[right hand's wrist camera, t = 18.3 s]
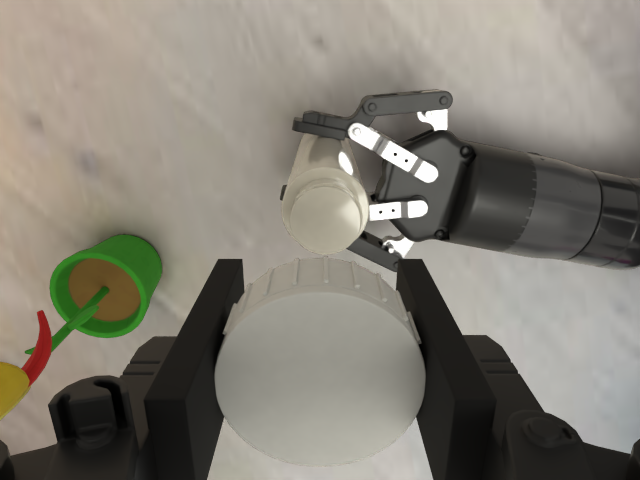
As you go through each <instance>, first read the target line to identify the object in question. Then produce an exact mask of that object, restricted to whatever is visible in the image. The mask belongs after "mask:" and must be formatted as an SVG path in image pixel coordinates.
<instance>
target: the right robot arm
mask: <svg viewBox="0 0 640 480" xmlns="http://www.w3.org/2000/svg"><path fill="white" fill-rule="evenodd" d="M396 290H398V292H399V293H400V296H401V299H402V302H403V304H404V306H405V309H406V311H407V312H409V311H410V313H411V315H412V318H413V321H414V324H415V326H416V329H417V332H418V334H419V337H420V340H421V344H418V345H419V347H420V350H421V353H422V356H423V359H424V364H425V369H426V382H425V392H424V398H423V401H422V405H421V407H420V409H419V411H418V414H417V416H416V418H417V422H418V425H419V429H420V432H421V436H422V440H423V443H424V447H425V451H426V454H427V458H428V462H429V465H430V469H431V472H432V476H433V480H640V439H639V440H638V441H637V442H636V443H634V445H633V448H632V451H631V454H628V453H623V452H619V451H615V450H611V449H606V448H602V447H598V446H594V445H591V444H588V443H585V442H583V441H582V440H581V438H580V436H579V435H578V433H577V432H576V430H575V429H573V428H572V427H571V426H570V425H569V424H567V423H566V422H565V421H563V420H562V419H560V418H558V417H556V416H554V415H552V414H549V413H545V412H544V410H543V409H542V407H541V406H540V404H539V403H538V401H537V400H536V398H535V397H534V395H533V394H532V392H531V391H530V389H529V387H528V386H527V384H526V383H525V381H524V380H523V378H522V377H521V375H520V374H518V371H517V369H516V368H515V366H514V365H513V363H511V360H510V358H509V357H508V355H507V354H506V352H505V351H504V349H503V348H502V346H500V345H499V344H498V343H496V342H495V341H494V340H492V339H491V338H489V337H488V336H487V335H462V333H461V332H460V330H459V328H458V326H457V324H456V322H455V320H454V318H453V317H452V315H451V313H450V311H449V309H448V307H447V305H446V303H445V301H444V300H443V298H442V296H441V294H440V292H439V290H438V288H437V286H436V285H435V283H434V281H433V279H432V277H431V275H430V273H429V271H428V270H427V268H426V266H425V264H424V262H423V260H422V259H398V267H397V283H396ZM243 294H244V278H243V263H242V259H218V261H217V263H216V264H215V266H214V268H213V270H212V272H211V274H210V276H209V278H208V279H207V281H206V283H205V285H204V287H203V289H202V291H201V293H200V295H199V296H198V298H197V300H196V302H195V304H194V306H193V308H192V310H191V311H190V313H189V315H188V317H187V319H186V321H185V323H184V325H183V326H182V328H181V330H180V332H179V334H178V336H177V337H153V338H152V339H150V340H149V341H147V342H146V343H145V344H143V345H142V346H141V347H139V348H138V350H137V351H136V353H135V355H134V356H133V358H132V359H131V361H130V364H128V365H127V367H126V368H125V370H124V371H123V375H121V376H120V378H118V377H114V376H94V377H90V378H86V379H82V380H79V381H77V382H75V383H73V384H71V385H69V386H67V387H65V388H64V389H63V390H61V391H60V392H59V393H57V394H56V395H55V396H54V397H53V399H52V400H51V401H50V403H49V404H48V407H49V411H50V415H51V418H52V422H53V426H54V430H55V434H56V438H57V441H58V442H57V444H55V445H52V446H49V447H46V448H42V449H38V450H33V451H29V452H25V453H21V454H16V455H12V456H10V453H9V450H8V447H7V445H6V444H4V443H3V442H2V441H1V440H0V480H207V477H208V473H209V470H210V466H211V463H212V459H213V455H214V452H215V448H216V444H217V441H218V437H219V433H220V430H221V426H222V423H223V419H224V415H223V413H222V411H221V409H220V406H219V404H218V401H217V397H216V389H215V378H214V372H215V365H216V361H217V356H218V353H219V350H220V347H221V345H222V342H223V339H224V336H225V335H224V334H223V331H224V328H225V326H226V323H227V320H228V317H229V315H230V312H231V309H232V306H233V304H234V303H236V304H237V303H238V302H239V300H240V298H241V297H242V295H243Z"/></svg>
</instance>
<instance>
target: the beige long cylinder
mask: <svg viewBox="0 0 640 480" xmlns="http://www.w3.org/2000/svg"><path fill="white" fill-rule="evenodd" d="M281 212H282V219H283V222H284V225H285V227H286V229H287V231H288V232H289V234H290V235H291V236H292V237H293V238H294V239H295V240H296V241H297V242H298V243H299V244H300V245H301V246H302V247H304V248H305V249H307V250H309V251H311V252H313V253H317V254H323V255H328V254H334V253H338V252H340V251H342V250H344V249H346V248H347V247H349V246H350V245H351V244H352V243H353V242H354V241H355V240H356V239H357V238H358V237H359V236H360V235H361V233H362V232H363V230H364V229H365V226H366V224H367V221H368V218H369V201H368V197H367V194H366V191H365V188H364V185H363V182H362V179H361V176H360V173H359V170H358V167H357V164H356V161H355V158H354V155H353V152H352V149H351V146H350V143H349V140H348V138H345V140H344V141H342V140H337V139H333V138H327V137H322V136H317V135H312V134H307V133H305V134H304V135H303V137H302V139H301V141H300V144H299V147H298V151H297V154H296V157H295V160H294V164H293V167H292V170H291V173H290V177H289V180H288V183H287V187H286V190H285V193H284V196H283V200H282V207H281Z"/></svg>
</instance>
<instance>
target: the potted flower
mask: <svg viewBox="0 0 640 480" xmlns="http://www.w3.org/2000/svg"><path fill="white" fill-rule="evenodd" d="M161 274H162V264H161V260H160V258H159V256H158V254H157V252H156V251H155V249H154V248H153V247H152V246H151V245H150V244H149V243H147V242H146V241H144V240H143V239H140V238H138V237H135V236H131V235H117V236H113V237H111V238H109V239H107V240H105V241H103V242H101V243H99V244H98V245H96V246H94V247H92V248H90V249H86V250H83V251H79V252H77V253H76V254H74V255H72V256H70V257H68V258H67V259H65V260H63V261H62V262H61V263H60V264H59V265H58V266H57V267H56V269H55V270H54V272H53V274H52V277H51V280H50V295H51V299H52V302H53V305H54V307H55V308H56V310H57V312H58V313H59V314H60V316H61V317H62V318H63V319H64V320H65V321H66V322H67V323H66V324H65V325H64V326H63V327H62V328H61V329H60V330H59V331H58V332H57V333H56V334H55V335H54V336H53V337H51V331H50V328H49V325H48V321H47V319H46V316H45V314H44V312H43V310H41V311H38V312H37V315H38V320H39V325H40V332H39V337H38V341H37V344H36V347H34V348H32V349H29V350H26V351H25V353H26V354H31V357H30V358H29V359H28V361H27V362H26V364H25V365H24V366H23V367H22V368H21V369H20V368H19V367H17V366H14V365H12V364H9V363H4V362H0V420H1V419H2V418H3V417H4V416H5V415H6V414H7V413H9V412H10V411H11V410H12V409H13V408H14V407H15V406H16V405H17V404H18V403H19V402H20V400H21V399H22V398H23V397H24V396H25V395H26V394H27V392H28V391H29V389H30V388H31V384H32V383H33V382H34V381H35V380H36V379H37V378H38V376H39V375H40V373H41V372H42V371H43V369H44V368H45V366H46V364H47V362H48V359H49V357H50V355H51V352H52V351H53V350H54V349H55V348H56V347H57V346H58V345H59V344H60V343H61V342H62V341H63V340H64V339H65V338H66V337H67V336H68V334H69V333H70V332H71V331H72V330H74V329H77V330H78V331H80V332H83V333H85V334H87V335H91V336H95V337H101V338H113V337H118V336H122V335H125V334H127V333H129V332H131V331H132V330H134V329H135V328H136V327H137V326H138V325H139V324H140V323H141V321H142V320H143V318H144V316H145V313H146V311H147V309H148V307H149V303H150V298H151V296H152V294H153V292H154V290H155V288H156V286H157V284H158V282H159V280H160V278H161Z"/></svg>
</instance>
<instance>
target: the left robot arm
mask: <svg viewBox="0 0 640 480" xmlns="http://www.w3.org/2000/svg"><path fill="white" fill-rule="evenodd" d="M452 102H453V98H452V95H451V94H450V93H449V92H447V91H442V90H437V89H435V90H424V91H413V92H402V93H391V94H380V95H369V96H365V97H364V98H363V99H362V100H361V103H360V105H359V107H358V108H357V110H356V112H355V113H354V114H353V115H352V116H350V117H341V116H336V115H331V114H325V113H321V112H316V111H307V112H304V114H303V118H297V117H295V118H294V121H293V127H292V130H294V131H298V132H302V133H307V134H312V135H317V136H322V137H327V138H333V139H337V140H342V141H344V140H345V138H350V139H352V140H354V141H356V142H358V143H359V144H361V145H363V146H365V147H366V148H368V149H370V150H372V151H373V152H375V153H376V154H378V155H379V156H381V157H383V162H382V176H381V178H380V180H379V182H378V184H377V187H376V191H375V192H366V194H367V197H368V201H369V218H368V221H375V220H384V219H389V220H390V221H391V222H392V224H393V225H394V226H395V227H396V228H397V229H398V230H399V231H400V232H401V233H402V234H401V235H400V236H398V237H392V236H385V237H384V238H383V239H380V238H378V237H376V236H374V235H372V234H370V233H367V232H365V231H363V232H362V233H361V235H360V236H359V237H358V238H357V239H356V240H355V241H354V242H353V243H352V244H351V245H350V246H349V247H347V248H346V249H348V250H350V251H352V252H354V253H356V254H358V255H360V256H362V257H364V258H366V259H368V260H371V261H373V262H375V263H377V264H379V265H381V266H383V267H385V268H387V269H389V270H391V271H393V272H397V267H398V259H404V258H405V256H406V255H407V253H408V252H409V250H410V248H411V247H412V245H413V244H414V242H421V241H424V240H429V239H436V240H441V241H445V242H450V243H456V244H461V245H467V246H472V247H477V248H482V249H488V250H493V251H498V252H504V253H509V254H514V255H520V256H525V257H531V258H549V259H558V260H564V261H569V262H575V263H580V264H585V265H591V266H596V267H601V268H607V269H613V270H629V269H634V268H637V267H640V178H629V177H624V176H620V175H615V174H610V173H605V172H600V171H595V170H590V169H585V168H581V167H578V166H575V165H572V164H570V163H567V162H564V161H561V160H557V159H553V158H548V157H544V156H541V155H539V154H537V153H524V152H519V151H514V150H510V149H505V148H500V147H495V146H490V145H485V144H480V143H475V142H470V141H465V140H461V139H458V138H457V137H456V136H455V135H454V134H452V133H451V132H450V131H448V130H447V109H448V108H449V107H450V106H451V104H452ZM404 113H415V116H416V117H417V119H419V120H420V121H422V122H428V123H429V124H430V125H431V130H429V131H426V132H424V133H422V134H420V135H417V136H415V137H413V138H411V139H409V140H406V141H404V142H402V143H399V142H397V141H395V140H394V139H392V138H390V137H388V136H387V135H385V134H383V133H381V132H379V131H377V130H375V129H374V128H372V127H370V125H371V123H372V121H373V120H374V118H375V117H376V116H381V115H393V114H404ZM286 187H287V185H283V187H282V190H281V196H280V200H283V196H284V193H285V190H286ZM375 199H376V200H375ZM380 210H381V211H380Z"/></svg>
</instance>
